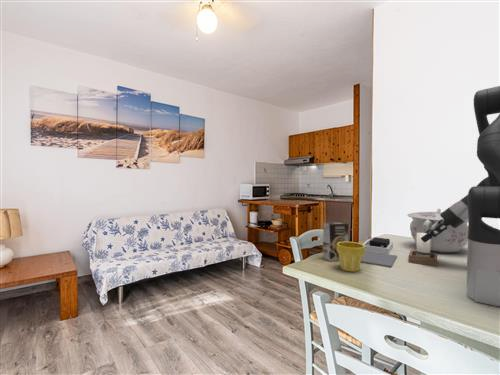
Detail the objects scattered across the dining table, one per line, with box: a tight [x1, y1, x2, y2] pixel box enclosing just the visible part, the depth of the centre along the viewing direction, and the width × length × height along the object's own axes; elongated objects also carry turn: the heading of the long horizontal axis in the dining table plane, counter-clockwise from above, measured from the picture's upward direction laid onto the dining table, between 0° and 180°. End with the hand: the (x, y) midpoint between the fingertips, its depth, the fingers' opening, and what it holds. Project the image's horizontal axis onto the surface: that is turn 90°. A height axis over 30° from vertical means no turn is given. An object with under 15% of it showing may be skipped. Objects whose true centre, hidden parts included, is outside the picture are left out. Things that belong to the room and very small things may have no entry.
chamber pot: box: [407, 208, 468, 254], centre depth 134 cm, size 28×28×21 cm
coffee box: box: [322, 221, 349, 262], centre depth 118 cm, size 9×6×16 cm
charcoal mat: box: [360, 251, 398, 268], centre depth 118 cm, size 18×16×1 cm
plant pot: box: [337, 241, 365, 273], centre depth 105 cm, size 10×10×10 cm
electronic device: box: [369, 236, 391, 248], centre depth 134 cm, size 7×11×5 cm
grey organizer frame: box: [362, 238, 394, 255], centre depth 135 cm, size 16×12×2 cm
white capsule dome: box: [415, 233, 432, 258], centre depth 114 cm, size 5×5×12 cm
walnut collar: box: [408, 249, 438, 267], centre depth 114 cm, size 10×10×3 cm
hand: (423, 238), depth 114 cm, fingers open, 8 cm apart
